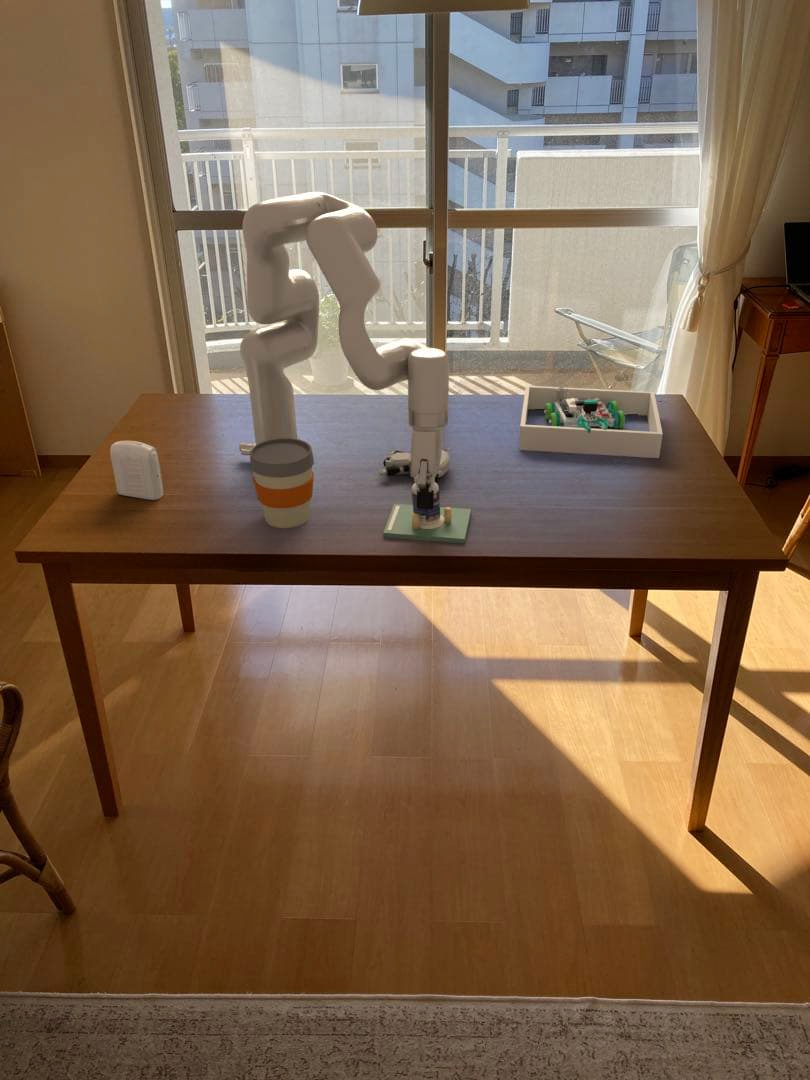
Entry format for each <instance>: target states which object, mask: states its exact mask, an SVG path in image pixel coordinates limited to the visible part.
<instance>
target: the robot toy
mask: <svg viewBox="0 0 810 1080" xmlns="http://www.w3.org/2000/svg"><path fill="white" fill-rule="evenodd" d="M451 450H452V447H447V448H446V449H442V453H441V461H440V464H439V468H438V473H437V474H439V478H441V477H443V476H444V475H445V474H446V473H447V472H448V471H449V469H450V466H451V465H450V462H451V461H450V454H449V453H448V452H447V451H451ZM383 467H385V469H384V468H383V469H380V470H379V474H380V476H388V477H391V476H392V477H393V476H399V475H400V476H401V475H404V474H406V475H407V474H410V473H411V452H410V453H408V452H405V451H401V450H395V451H394V450H393V451H391V452H389V453H388V456H386V458H385V459H384V460H383Z"/></svg>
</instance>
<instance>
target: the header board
mask: <svg viewBox="0 0 810 1080" xmlns="http://www.w3.org/2000/svg"><path fill="white" fill-rule="evenodd" d="M471 515H472V509H471V508H462V507H461V508H459V507H449V506H447V507H446V506H445V507H444V506H440V519H439V521H437V522H435V523H433V524H420V523H419V514H416V513H415V514H413V504H403V503H393V505H392V509H391V511H390V514H389V517H388V519H387V522H386V524H385V527H384V529H383V535H382V536H383V538H391V539H404V540H416V541H417V540H419V541H428V542H429V541H431V542H439V543H440V542H444V543H452V544H453V543H456V544H465V543H466V538H467V534H468V528H469V525H470V520H471Z"/></svg>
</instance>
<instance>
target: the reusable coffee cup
mask: <svg viewBox="0 0 810 1080" xmlns="http://www.w3.org/2000/svg"><path fill="white" fill-rule="evenodd" d="M249 460H250V461H249V466H250V469H251V471H252V472H253V477H252V480H253V481H252V482H253V485H254V488H255V493H256V496H257V500H258V501H259V503H260V505H261V508H262V510H263V511H262V512H263V515H264V518H265V522H266V523H267V524H268V525H269V526H271V527H274V528H277V529H278V528H279V529H290V528H296V527H299V526H302V525H303V524H305V523H306V522H307V521H308V520H309V519H310V518H309V517H310V511H311V510H310V508H311V507H310V506H311V499H312V497H313V491H314V475H315V474H314V471H313V466H314V464H315V458H314V454H313V448H312V446H311V444H310V443H309V442H307V441H305V440H302V439H299V438H297V439H294V438H276V439H270V440H266V441H263V442H261V443H259V444H257V445H255V446H254V447H253V448H252V449H251V451H250V455H249Z"/></svg>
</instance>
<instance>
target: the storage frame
mask: <svg viewBox="0 0 810 1080" xmlns="http://www.w3.org/2000/svg"><path fill="white" fill-rule="evenodd" d="M559 387H560V386H542V385H541V386H540V385H539V386H538V385H525V390H524V397H523V402H522V403H523V405H522V409H521V410H522V411H521V418H520V419H521V420H520V424H519V427H520V428H519V440H518V441H519V442H518V450H519V451H533V452H551V453H565V454H581V455H584V454H585V455H601V456H616V457H617V456H618V457H633V458H648V459H649V458H651V459H660V455H661V447H662V442H663V435H664V434H663V428H662V424H661V418H660V413H659V410H658V409H659V408H658V405H657V404H658V403H657V399H656V393H655V391H646V390H645V391H644V390H643V391H642V390H641V391H640V390H624V389H623V390H622V389H621V390H620V389H602V388H601V389H600V388H599V389H598V388H583V387H563V388H564V389H568V390H565V391H568V392H569V398H568V399H571V398H589V399H590V400H593V399H594V398H599V399H600V401H602V402H603V404H604V405H605V407H606V409H607V404H608V402H612V401H616V402H617V404H618V411H623V412H624V413H627V414H626V415H628V414H638V415H637V416H646V417H647V422H648V427H649V431H645V430H643V431H642V430H630V429H629V430H628V429H625V430H623V429H608V428H607V429H606V430H603V428H594V427H593V428H592V427H590V428H591V433H587V432H588V430H587V429H585V428H580V427H564V426H560V427H557V426H550V425H535V424H527V421H528V413H529V410H534V409H545V405H546V404H547V403H550V404H552V403H554V404H555V402H558V403H562V400H561V401H560V400H558V399H557V398H556V390H557V389H558V388H559ZM566 399H567V398H566ZM559 405H560V404H559ZM561 406H562V405H561ZM564 406H565V405H564ZM562 407H563V406H562ZM565 407H566V406H565ZM565 410H567V409H565Z"/></svg>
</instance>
